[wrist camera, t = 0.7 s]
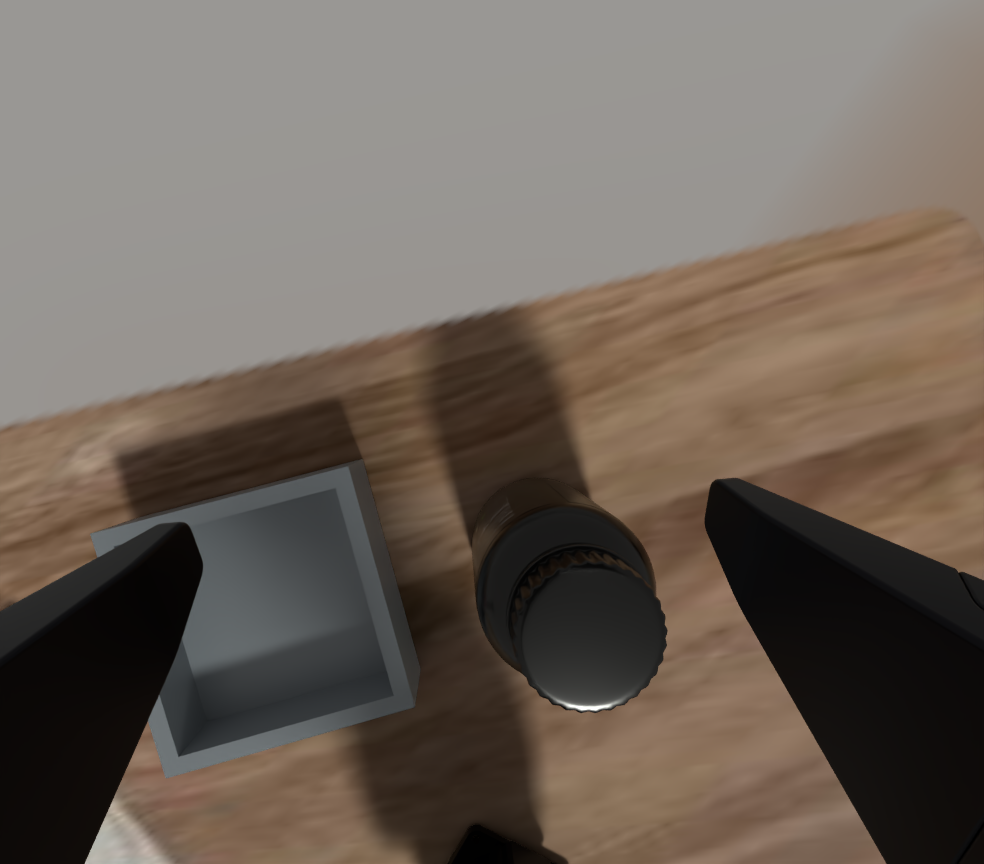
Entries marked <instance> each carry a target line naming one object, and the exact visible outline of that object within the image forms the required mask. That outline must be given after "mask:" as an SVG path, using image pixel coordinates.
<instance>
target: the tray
mask: <svg viewBox="0 0 984 864" xmlns="http://www.w3.org/2000/svg"><path fill="white" fill-rule="evenodd" d="M171 522H185V523H187V524H188V525H189V526H190V528H191V530H192V532H193V535H194V538H195V541H196V543H197V546H198V549H199V552H200V554H201V557H202V560H203V574H202V578H201V581H200V584H199V587H198V590H197V593H196V596H195V600H194V603H193V606H192V609H191V612H190V615H189V618H188V621H187V625H186V628H185V631H184V634H183V637H182V640H181V643H180V646H179V649H178V652H177V655H176V657H175V660H174V662H173V665H172V667H171V669H170V672H169V674H168V676H167V679H166V681H165V683H164V685H163V688H162V690H161V692H160V694H159V697H158V699H157V701H156V703H155V706H154V708H153V710H152V712H151V715H150V717H149V719H148V722H149V726H150V729H151V732H152V735H153V738H154V742H155V745H156V748H157V751H158V755H159V758H160V761H161V764H162V768H163V771H164V774H165V777H166V778H169V777H173V776H176V775H180V774H183V773H187V772H190V771H194V770H197V769H201V768H204V767H208V766H211V765H215V764H218V763H222V762H225V761H229V760H232V759H236V758H239V757H243V756H246V755H250V754H253V753H257V752H260V751H264V750H267V749H271V748H274V747H278V746H281V745H285V744H288V743H292V742H295V741H299V740H302V739H306V738H309V737H313V736H316V735H320V734H323V733H327V732H330V731H334V730H337V729H341V728H344V727H348V726H351V725H355V724H358V723H362V722H365V721H369V720H372V719H376V718H379V717H383V716H386V715H390V714H393V713H396V712H400V711H403V710H407V709H410V708H414V707H415V704H416V698H417V691H418V685H419V678H420V671H421V669H420V665H419V662H418V658H417V654H416V651H415V647H414V643H413V640H412V636H411V633H410V629H409V625H408V622H407V618H406V614H405V611H404V607H403V603H402V600H401V596H400V593H399V589H398V585H397V582H396V578H395V574H394V571H393V567H392V564H391V560H390V556H389V553H388V549H387V545H386V542H385V538H384V535H383V531H382V527H381V524H380V520H379V516H378V513H377V509H376V505H375V502H374V498H373V495H372V491H371V487H370V484H369V480H368V476H367V473H366V469H365V466H364V462H363V459H360V460H356V461H352V462H348V463H345V464H341V465H337V466H333V467H329V468H326V469H322V470H318V471H314V472H310V473H306V474H303V475H299V476H295V477H291V478H287V479H284V480H280V481H276V482H272V483H268V484H265V485H261V486H257V487H253V488H249V489H245V490H242V491H238V492H234V493H230V494H226V495H223V496H219V497H215V498H211V499H207V500H203V501H200V502H196V503H192V504H188V505H184V506H181V507H177V508H173V509H169V510H165V511H162V512H158V513H154V514H150V515H146V516H142V517H139V518H136V519H133V520H130V521H127V522H124V523H121V524H118V525H115V526H112V527H109V528H106V529H103V530H100V531H97V532H94V533H91V534H90V535H91V538H92V541H93V544H94V548H95V551H96V554H97V557H100V556H101V555H103V554H105V553H107V552H109V551H110V550H112V549H114V548H116V547H118V546H119V545H121V544H123V543H125V542H127V541H128V540H130V539H132V538H134V537H136V536H137V535H139V534H141V533H143V532H145V531H146V530H148V529H150V528H152V527H154V526H155V525H158V524H161V523H171Z"/></svg>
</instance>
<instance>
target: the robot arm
mask: <svg viewBox="0 0 984 864" xmlns="http://www.w3.org/2000/svg"><path fill="white" fill-rule="evenodd" d="M705 528H706V531H707V534H708V536H709V538H710V541H711V543H712V545H713V548H714V550H715V552H716V555H717V557H718V559H719V562H720V564H721V566H722V568H723V571H724V573H725V575H726V578H727V580H728V582H729V585H730V587H731V589H732V591H733V594H734V596H735V598H736V600H737V602H738V604H739V606H740V608H741V610H742V612H743V614H744V615H745V617H746V619H747V621H748V623H749V624H750V626H751V628H752V630H753V631H754V633H755V635H756V636H757V638H758V640H759V642H760V643H761V645H762V647H763V649H764V650H765V652H766V654H767V656H768V657H769V659H770V661H771V663H772V664H773V666H774V668H775V670H776V671H777V673H778V675H779V677H780V678H781V680H782V682H783V684H784V685H785V687H786V689H787V691H788V692H789V694H790V696H791V698H792V699H793V701H794V703H795V705H796V706H797V708H798V710H799V712H800V713H801V715H802V717H803V719H804V720H805V722H806V724H807V726H808V727H809V729H810V731H811V733H812V734H813V736H814V738H815V740H816V741H817V743H818V745H819V746H820V748H821V750H822V752H823V753H824V755H825V757H826V759H827V760H828V762H829V764H830V766H831V767H832V769H833V771H834V773H835V774H836V776H837V778H838V780H839V781H840V783H841V785H842V787H843V788H844V790H845V792H846V794H847V795H848V797H849V799H850V801H851V802H852V804H853V806H854V808H855V809H856V811H857V813H858V815H859V816H860V818H861V820H862V822H863V823H864V825H865V827H866V829H867V830H868V832H869V834H870V836H871V837H872V839H873V841H874V843H875V844H876V846H877V848H878V850H879V851H880V853H881V855H882V856H883V858H884V860H885V862H886V863H887V864H984V580H981V579H979V578H977V577H974V576H972V575H969V574H967V573H965V572H959V573H958V571H957V570H956V569H955V568H952V567H950V566H948V565H945V564H943V563H940V562H938V561H936V560H933V559H931V558H928V557H926V556H924V555H921V554H919V553H916V552H914V551H912V550H909V549H907V548H904V547H902V546H900V545H897V544H895V543H892V542H890V541H888V540H885V539H883V538H880V537H878V536H876V535H873V534H871V533H868V532H866V531H864V530H861V529H859V528H856V527H854V526H852V525H849V524H847V523H844V522H842V521H840V520H837V519H835V518H832V517H830V516H828V515H825V514H823V513H820V512H818V511H816V510H813V509H811V508H808V507H806V506H804V505H801V504H799V503H796V502H794V501H792V500H789V499H787V498H784V497H782V496H780V495H777V494H775V493H772V492H770V491H768V490H765V489H763V488H760V487H758V486H756V485H753V484H751V483H748V482H746V481H744V480H741V479H738V478H727V479H717V480H715V481H713V482H712V484H711V486H710V490H709V496H708V502H707V508H706V513H705ZM202 574H203V560H202V557H201V554H200V552H199V549H198V546H197V543H196V541H195V538H194V535H193V532H192V530H191V528H190V526H189V525H188V524H187V523H185V522H171V523H161V524H158V525H155V526H154V527H152V528H150V529H148V530H146V531H145V532H143V533H141V534H139V535H137V536H136V537H134V538H132V539H130V540H128V541H127V542H125V543H123V544H121V545H119V546H118V547H116V548H114V549H112V550H110V551H109V552H107V553H105V554H103V555H101V556H100V557H98V558H96V559H94V560H92V561H91V562H89V563H87V564H85V565H83V566H82V567H80V568H78V569H76V570H74V571H73V572H71V573H69V574H67V575H65V576H64V577H62V578H60V579H58V580H56V581H54V582H53V583H51V584H49V585H47V586H45V587H44V588H42V589H40V590H38V591H36V592H35V593H33V594H31V595H29V596H27V597H26V598H24V599H22V600H20V601H18V602H17V603H15V604H13V605H11V606H9V607H8V608H6V609H4V610H2V611H0V864H85V861H86V859H87V857H88V855H89V852H90V850H91V848H92V846H93V843H94V841H95V839H96V836H97V834H98V832H99V830H100V827H101V825H102V823H103V821H104V818H105V816H106V814H107V812H108V809H109V807H110V805H111V803H112V800H113V798H114V796H115V794H116V791H117V789H118V787H119V785H120V782H121V780H122V778H123V776H124V773H125V771H126V769H127V767H128V764H129V762H130V760H131V758H132V755H133V753H134V751H135V749H136V746H137V744H138V742H139V740H140V737H141V735H142V733H143V731H144V728H145V726H146V724H147V721H148V719H149V717H150V715H151V712H152V710H153V708H154V706H155V703H156V701H157V699H158V697H159V694H160V692H161V690H162V688H163V685H164V683H165V681H166V679H167V676H168V674H169V672H170V669H171V667H172V665H173V662H174V660H175V657H176V655H177V652H178V649H179V646H180V643H181V640H182V637H183V634H184V631H185V628H186V625H187V621H188V618H189V615H190V612H191V609H192V606H193V603H194V600H195V596H196V593H197V590H198V587H199V584H200V581H201V578H202ZM474 835H479V837H478V838H474V837H473V836H474ZM448 864H554V863H552V862H550V860H549V859H547V858H545V857H543V856H541V855H539V854H537V853H535V852H533V851H531V850H529V849H527V848H526V847H524V846H522V845H520V844H518V843H516V842H514V841H510V840H508V839H506V838H504V837H502V836H500V835H498V834H496V833H494V832H492V831H490V830H489V829H487V828H485V827H483V826H481V825H472V826H471V827H470V828H469V829H468V830H467V832H466V834H465V835H464V837H463V839H462V840H461V842H460V844H459V845H458V847H457V849H456V851H455V852H454V854H453V856H452V857H451V859H450V861H449V862H448Z"/></svg>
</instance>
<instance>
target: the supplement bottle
mask: <svg viewBox="0 0 984 864" xmlns="http://www.w3.org/2000/svg"><path fill="white" fill-rule="evenodd" d="M472 558H473V571H474V584H475V596H476V605H477V611H478V615H479V619H480V622H481V625H482V628H483V631H484V633H485V635H486V637H487V639H488V641H489V642H490V644H491V646H492V647H493V648H494V650H495V651H496V652H497V653H498V655H499V656H500V657H501V658H502V659H503V660H504V661H505V662H506V663H507V664H509V665H510V666H511V667H513V668H514V669H515V670H517V671H518V672H520V673H522V674H523V675H524V676H525V677H527V681H528V684H529V685H530V686H531V687H533V688H534V689H536V690H537V692H538V694H539V695H540V696H541V697H543V698H546V699H548V700H549V701H550V702H551V704H552V705H559V706H561V707H563V708H564V709H565V710H576V711H577V712H580V713H583V712H587V711H590V712H593V713H597V712H600V711H602V710H612V709H613V708H615V707H616V706H620V705H625V704H626V703H627V702H628V700H629V699H631V698H634V697H637V696H638V694H639V693H640V691H641V690H642V689H644V688H646V687H647V686H648V685H649V683H650V680H651V678H653V677H654V676H655V675H656V674H657V671H658V666H659V665H660V664H661V662H662V661H663V652H664V650H665V648H666V646H667V644H666V639H665V638H666V635H667V631H668V630H667V628H666V626H665V614H664V613H663V611H662V610H661V603H660V600H659V599H658V598H657V597H656V581H655V575H654V571H653V567H652V564H651V561H650V559H649V557H648V554H647V552H646V551H645V549H644V547H643V545H642V544H641V542H640V541H639V539H638V538H637V537H636V536H635V535H634V533H633V532H632V531H631V530H630V529H629V528H628V527H627V526H626V525H624V524H623V523H622V522H621V521H620V520H618V519H617V518H616V517H614V516H613V515H612V514H610V513H609V512H607V511H606V510H604V509H603V508H602V507H600V506H599V505H597V504H596V503H595V502H593V501H592V500H590V499H589V498H587V497H586V496H585V495H583V494H582V493H580V492H579V491H577V490H576V489H574V488H572V487H571V486H569V485H567V484H565V483H562V482H560V481H556V480H553V479H547V478H528V479H523V480H519V481H516V482H514V483H511V484H509V485H507V486H505V487H504V488H502V489H501V490H499V491H498V492H497V493H495V494H494V495H493V496H492V497H491V498H490V499H489V500H488V501H487V503H486V504H485V505H484V507H483V508H482V510H481V512H480V514H479V516H478V518H477V520H476V523H475V527H474V531H473V536H472Z"/></svg>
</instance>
